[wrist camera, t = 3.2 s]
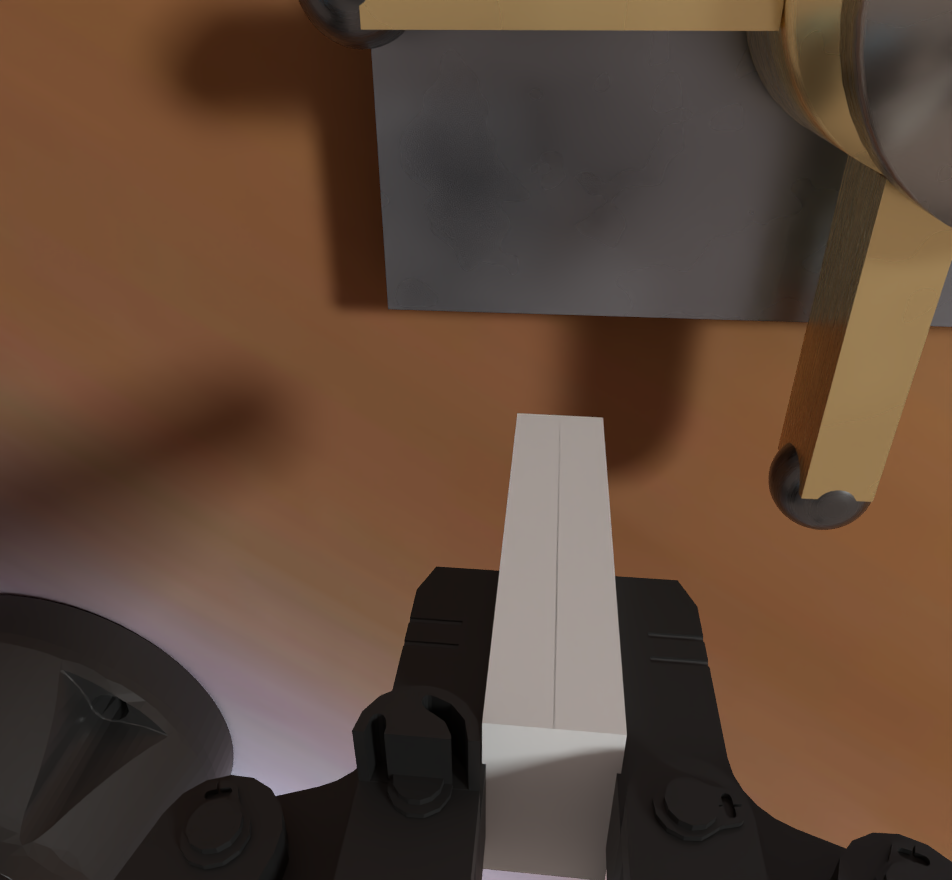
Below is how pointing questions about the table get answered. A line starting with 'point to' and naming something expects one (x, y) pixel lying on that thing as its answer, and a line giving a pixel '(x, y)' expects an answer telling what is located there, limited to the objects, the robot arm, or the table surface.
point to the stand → (598, 177)
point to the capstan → (857, 209)
